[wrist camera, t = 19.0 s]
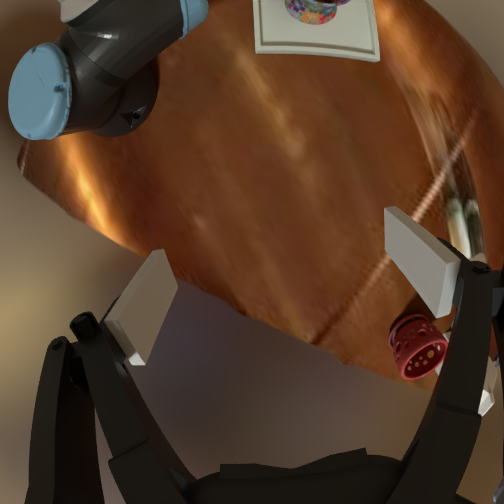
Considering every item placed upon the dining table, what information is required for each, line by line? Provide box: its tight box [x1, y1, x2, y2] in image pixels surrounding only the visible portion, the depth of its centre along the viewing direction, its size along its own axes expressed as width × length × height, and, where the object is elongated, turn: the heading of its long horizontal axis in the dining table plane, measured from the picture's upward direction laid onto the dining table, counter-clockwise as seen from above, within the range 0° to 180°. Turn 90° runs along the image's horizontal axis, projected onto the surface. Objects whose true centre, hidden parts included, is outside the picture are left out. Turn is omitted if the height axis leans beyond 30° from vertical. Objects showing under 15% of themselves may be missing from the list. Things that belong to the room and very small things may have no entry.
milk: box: [435, 332, 497, 416], centre depth 51 cm, size 12×12×26 cm
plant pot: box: [388, 314, 448, 380], centre depth 54 cm, size 13×13×12 cm
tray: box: [253, 0, 380, 62], centre depth 30 cm, size 20×20×2 cm
